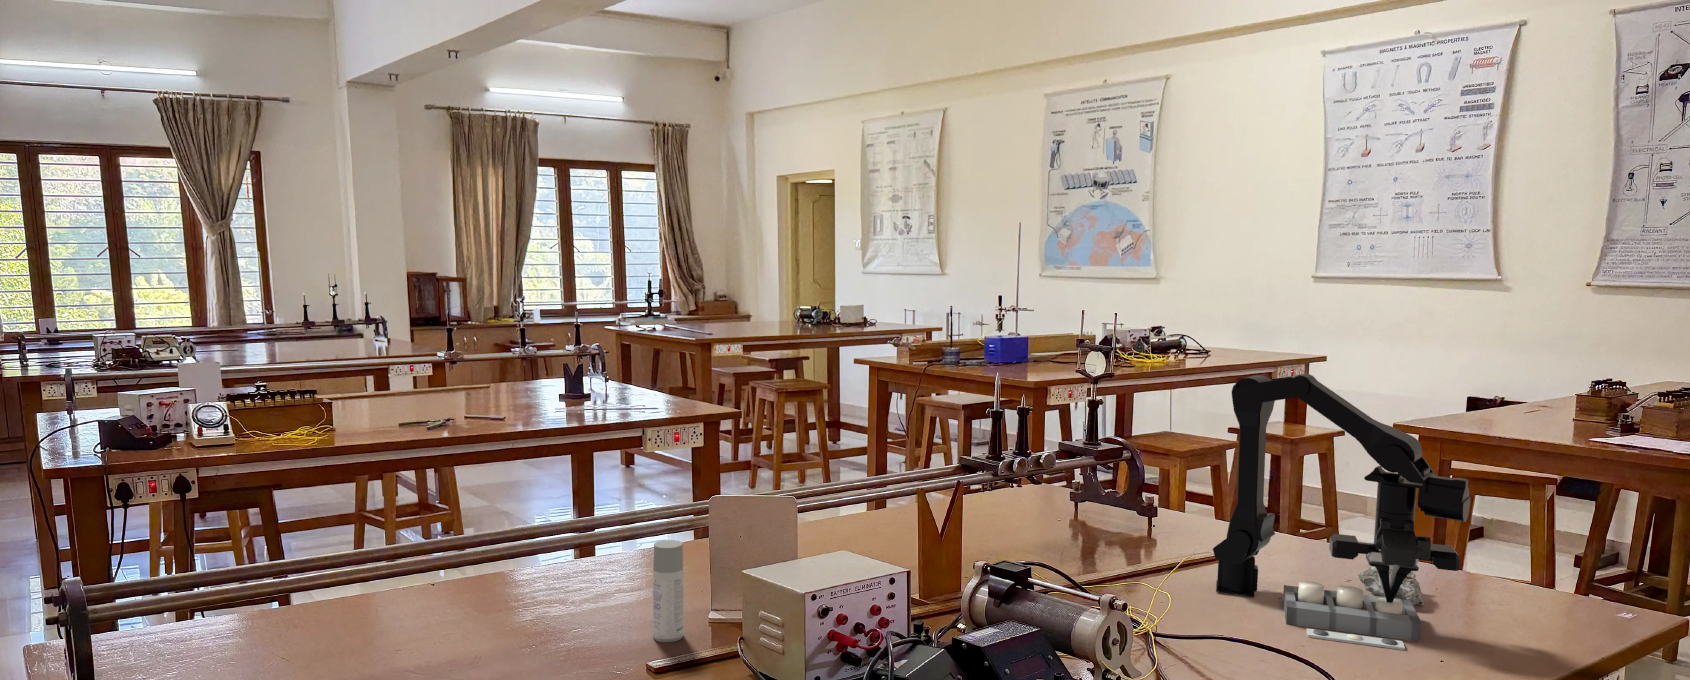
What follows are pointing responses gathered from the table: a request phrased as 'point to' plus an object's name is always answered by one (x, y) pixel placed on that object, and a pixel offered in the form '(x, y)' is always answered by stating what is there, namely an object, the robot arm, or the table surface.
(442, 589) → the table surface
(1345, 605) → the button middle
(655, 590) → the container
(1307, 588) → the button left
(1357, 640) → the card
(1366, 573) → the mineral specimen
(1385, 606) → the button right
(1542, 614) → the table surface
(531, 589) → the table surface
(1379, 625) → the button board
